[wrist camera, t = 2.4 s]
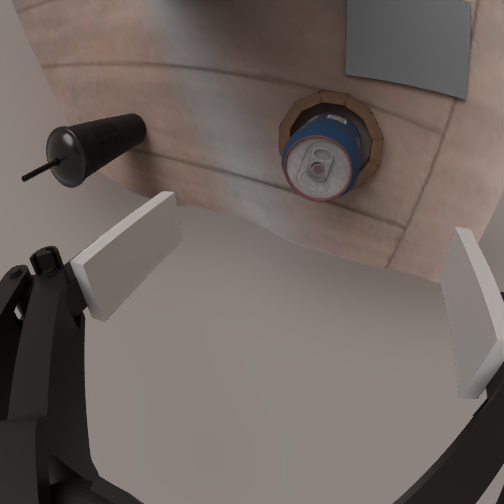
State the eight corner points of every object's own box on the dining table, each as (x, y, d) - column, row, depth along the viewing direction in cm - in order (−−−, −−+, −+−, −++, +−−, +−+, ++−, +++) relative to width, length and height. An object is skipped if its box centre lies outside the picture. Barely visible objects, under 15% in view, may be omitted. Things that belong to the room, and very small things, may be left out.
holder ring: (281, 179, 40) (277, 184, 38) (284, 87, 33) (280, 88, 32) (373, 194, 37) (374, 200, 35) (386, 99, 30) (387, 101, 29)
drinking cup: (114, 102, 41) (2, 142, 25) (154, 106, 39) (37, 147, 23) (114, 149, 45) (13, 204, 29) (153, 156, 44) (49, 218, 28)
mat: (345, 74, 30) (344, 74, 30) (347, -21, 24) (346, -23, 23) (464, 99, 27) (465, 99, 26) (468, 4, 20) (470, 3, 19)
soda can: (350, 176, 36) (342, 220, 27) (295, 156, 37) (267, 191, 28) (369, 124, 32) (371, 147, 23) (311, 103, 33) (288, 117, 24)
